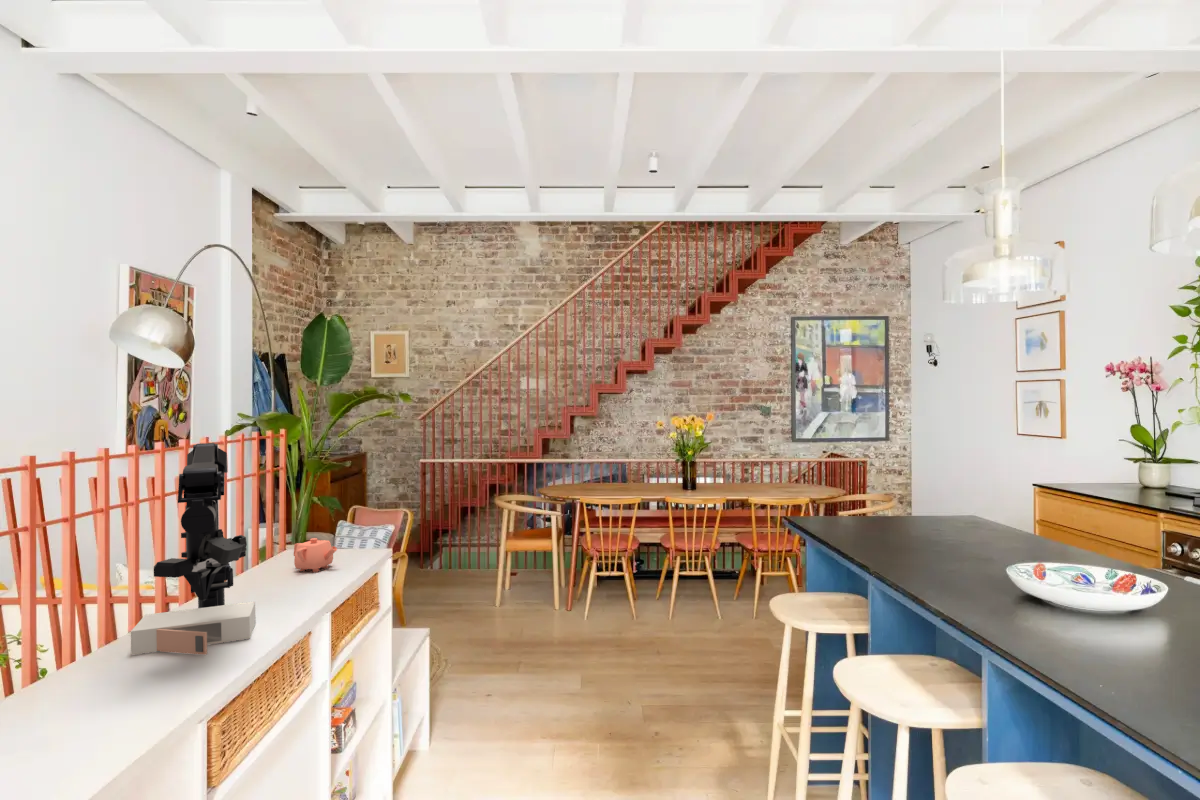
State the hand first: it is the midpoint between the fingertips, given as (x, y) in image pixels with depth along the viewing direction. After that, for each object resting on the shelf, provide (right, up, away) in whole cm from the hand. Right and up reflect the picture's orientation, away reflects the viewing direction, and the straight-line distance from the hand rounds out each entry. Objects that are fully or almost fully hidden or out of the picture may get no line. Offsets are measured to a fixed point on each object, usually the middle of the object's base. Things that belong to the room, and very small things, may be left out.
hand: (203, 600), depth 139 cm
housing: (-6, -11, +8) cm, 14 cm away
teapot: (-5, -11, +67) cm, 68 cm away
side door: (-3, -10, -2) cm, 11 cm away
